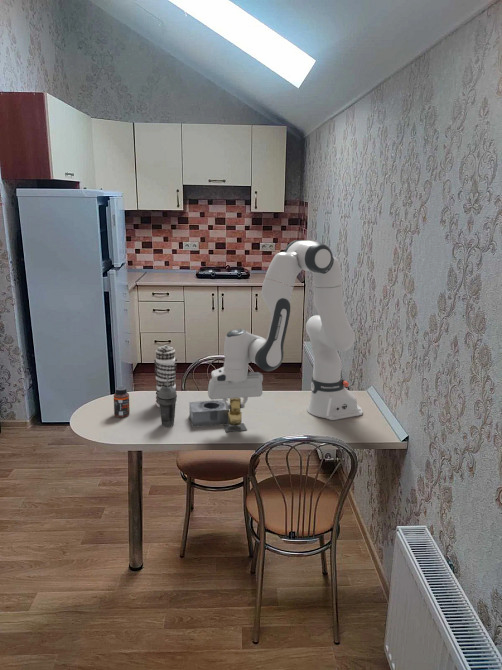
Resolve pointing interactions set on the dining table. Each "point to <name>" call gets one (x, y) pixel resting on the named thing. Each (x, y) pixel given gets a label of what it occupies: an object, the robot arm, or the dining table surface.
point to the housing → (208, 413)
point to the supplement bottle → (121, 402)
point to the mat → (234, 427)
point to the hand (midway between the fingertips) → (235, 408)
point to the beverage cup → (167, 404)
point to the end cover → (235, 412)
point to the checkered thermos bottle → (165, 368)
